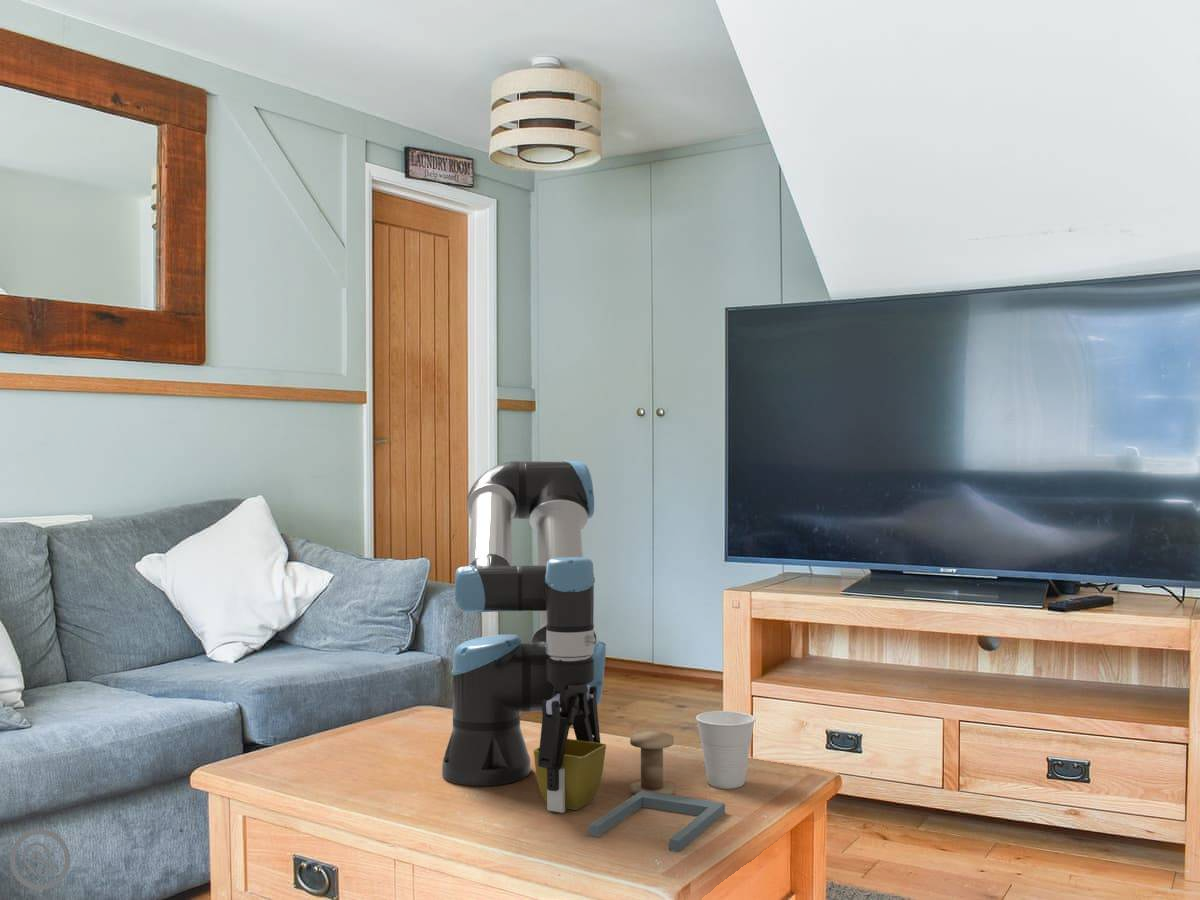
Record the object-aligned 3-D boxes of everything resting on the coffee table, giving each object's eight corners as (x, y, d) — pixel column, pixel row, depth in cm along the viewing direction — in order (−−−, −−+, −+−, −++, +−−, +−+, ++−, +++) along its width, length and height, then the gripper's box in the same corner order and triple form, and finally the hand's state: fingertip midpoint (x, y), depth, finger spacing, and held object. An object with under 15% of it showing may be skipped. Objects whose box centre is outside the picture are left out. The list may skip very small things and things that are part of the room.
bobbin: (623, 795, 163) (622, 739, 163) (641, 784, 169) (641, 729, 169) (663, 802, 159) (662, 744, 160) (680, 789, 166) (680, 734, 166)
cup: (754, 794, 163) (754, 725, 163) (693, 791, 165) (692, 723, 165) (757, 777, 173) (757, 712, 173) (699, 773, 175) (699, 709, 175)
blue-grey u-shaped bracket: (679, 851, 138) (679, 840, 138) (588, 835, 144) (588, 824, 145) (725, 812, 154) (725, 803, 154) (641, 799, 160) (641, 790, 161)
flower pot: (607, 800, 160) (607, 742, 161) (583, 817, 153) (583, 756, 153) (558, 793, 164) (558, 737, 164) (532, 809, 156) (532, 750, 157)
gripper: (557, 669, 148) (557, 826, 147) (621, 648, 167) (622, 786, 166) (513, 665, 151) (513, 818, 151) (581, 644, 170) (581, 780, 170)
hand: (570, 802), depth 158 cm, fingers closed on flower pot, 8 cm apart
